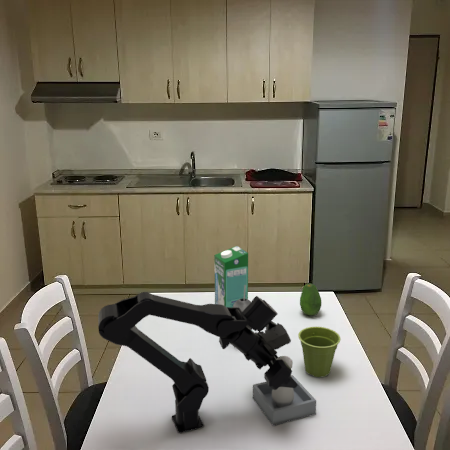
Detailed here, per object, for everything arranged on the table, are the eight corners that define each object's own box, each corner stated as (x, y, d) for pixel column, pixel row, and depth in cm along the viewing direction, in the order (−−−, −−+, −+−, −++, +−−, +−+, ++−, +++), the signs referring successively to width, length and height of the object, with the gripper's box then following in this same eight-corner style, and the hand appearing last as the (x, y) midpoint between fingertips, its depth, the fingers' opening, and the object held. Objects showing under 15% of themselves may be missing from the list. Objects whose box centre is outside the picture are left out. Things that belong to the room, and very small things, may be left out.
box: (315, 414, 121) (316, 400, 120) (273, 426, 117) (273, 411, 116) (292, 387, 132) (292, 375, 131) (252, 397, 128) (252, 384, 127)
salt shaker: (287, 413, 120) (288, 367, 117) (267, 405, 124) (268, 360, 120) (297, 401, 125) (299, 357, 121) (278, 393, 128) (279, 350, 125)
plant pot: (288, 366, 142) (290, 332, 139) (320, 356, 148) (322, 323, 145) (313, 387, 132) (315, 350, 129) (347, 375, 138) (349, 340, 135)
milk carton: (214, 313, 177) (214, 248, 170) (236, 308, 180) (236, 245, 174) (225, 323, 169) (224, 256, 162) (248, 318, 172) (248, 252, 166)
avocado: (296, 310, 179) (298, 280, 175) (317, 309, 179) (319, 279, 176) (302, 320, 171) (303, 289, 168) (323, 319, 172) (325, 288, 168)
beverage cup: (227, 346, 154) (227, 288, 148) (237, 336, 160) (238, 280, 155) (248, 351, 150) (249, 292, 145) (258, 341, 157) (258, 284, 151)
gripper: (284, 337, 108) (327, 373, 114) (258, 303, 126) (296, 335, 131) (251, 372, 108) (295, 407, 114) (229, 333, 126) (268, 365, 131)
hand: (289, 375), depth 123 cm, fingers open, 9 cm apart
